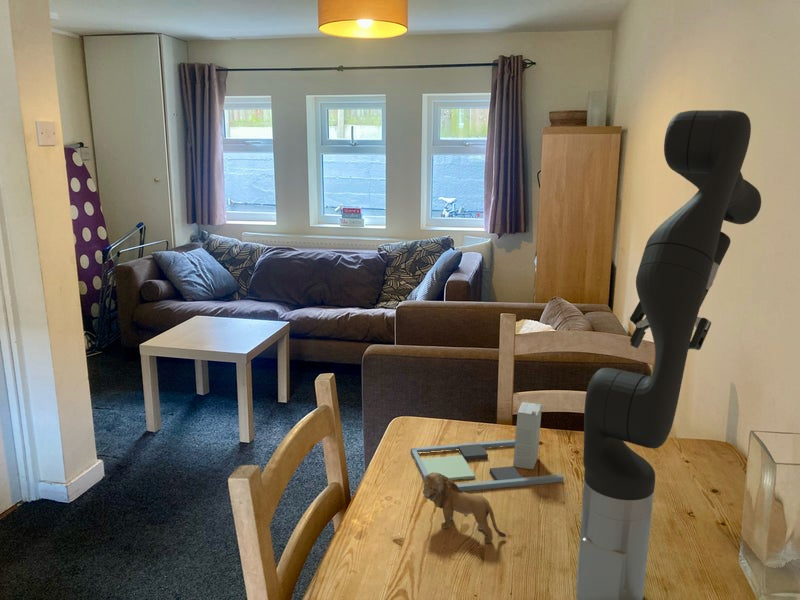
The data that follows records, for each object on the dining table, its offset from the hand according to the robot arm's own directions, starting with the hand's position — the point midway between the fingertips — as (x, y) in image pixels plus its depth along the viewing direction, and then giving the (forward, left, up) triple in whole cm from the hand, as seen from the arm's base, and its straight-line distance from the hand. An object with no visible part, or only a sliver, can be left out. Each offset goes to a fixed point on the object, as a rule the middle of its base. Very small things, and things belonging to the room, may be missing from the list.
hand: (652, 355), depth 124 cm
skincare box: (-13, +19, -24) cm, 34 cm away
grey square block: (-21, +19, -24) cm, 37 cm away
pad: (-26, +30, -24) cm, 47 cm away
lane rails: (-20, +25, -24) cm, 40 cm away
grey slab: (-17, +30, -24) cm, 42 cm away
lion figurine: (-42, +17, -24) cm, 51 cm away
